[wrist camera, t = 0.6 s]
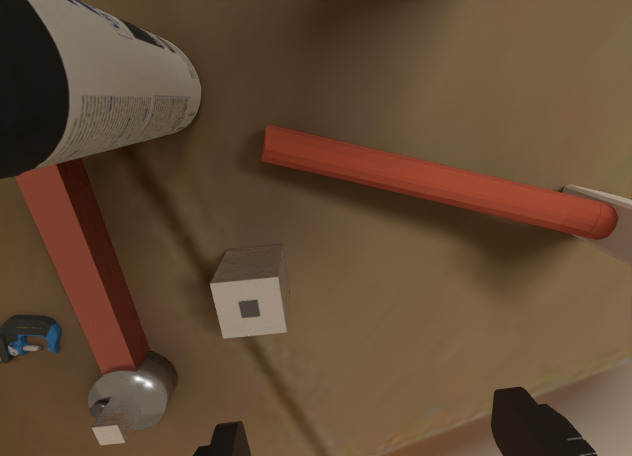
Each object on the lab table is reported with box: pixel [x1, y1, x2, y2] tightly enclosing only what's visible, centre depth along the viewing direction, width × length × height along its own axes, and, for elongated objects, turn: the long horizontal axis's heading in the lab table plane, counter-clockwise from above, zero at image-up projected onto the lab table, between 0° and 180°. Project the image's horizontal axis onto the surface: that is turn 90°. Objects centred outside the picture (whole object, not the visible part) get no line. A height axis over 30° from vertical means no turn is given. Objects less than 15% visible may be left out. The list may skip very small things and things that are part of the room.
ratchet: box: [15, 158, 178, 445], centre depth 27 cm, size 27×7×6 cm, turn 5°
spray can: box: [0, 0, 201, 179], centre depth 14 cm, size 7×7×20 cm
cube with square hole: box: [210, 244, 290, 339], centre depth 27 cm, size 5×5×6 cm
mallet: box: [261, 124, 632, 267], centre depth 24 cm, size 11×4×30 cm
